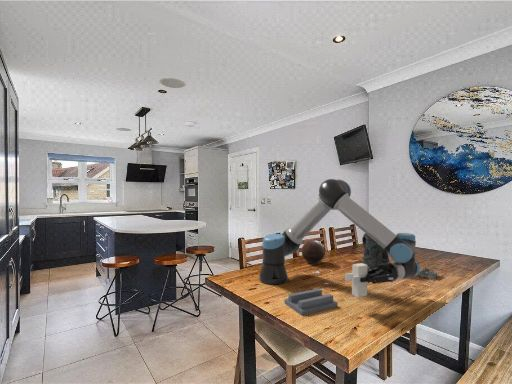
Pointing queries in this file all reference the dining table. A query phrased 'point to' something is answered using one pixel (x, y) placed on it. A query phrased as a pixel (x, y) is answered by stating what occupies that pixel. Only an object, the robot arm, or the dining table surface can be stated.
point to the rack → (310, 301)
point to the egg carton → (428, 273)
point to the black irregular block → (373, 253)
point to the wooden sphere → (313, 251)
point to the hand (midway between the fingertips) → (349, 279)
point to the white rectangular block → (359, 288)
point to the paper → (318, 273)
